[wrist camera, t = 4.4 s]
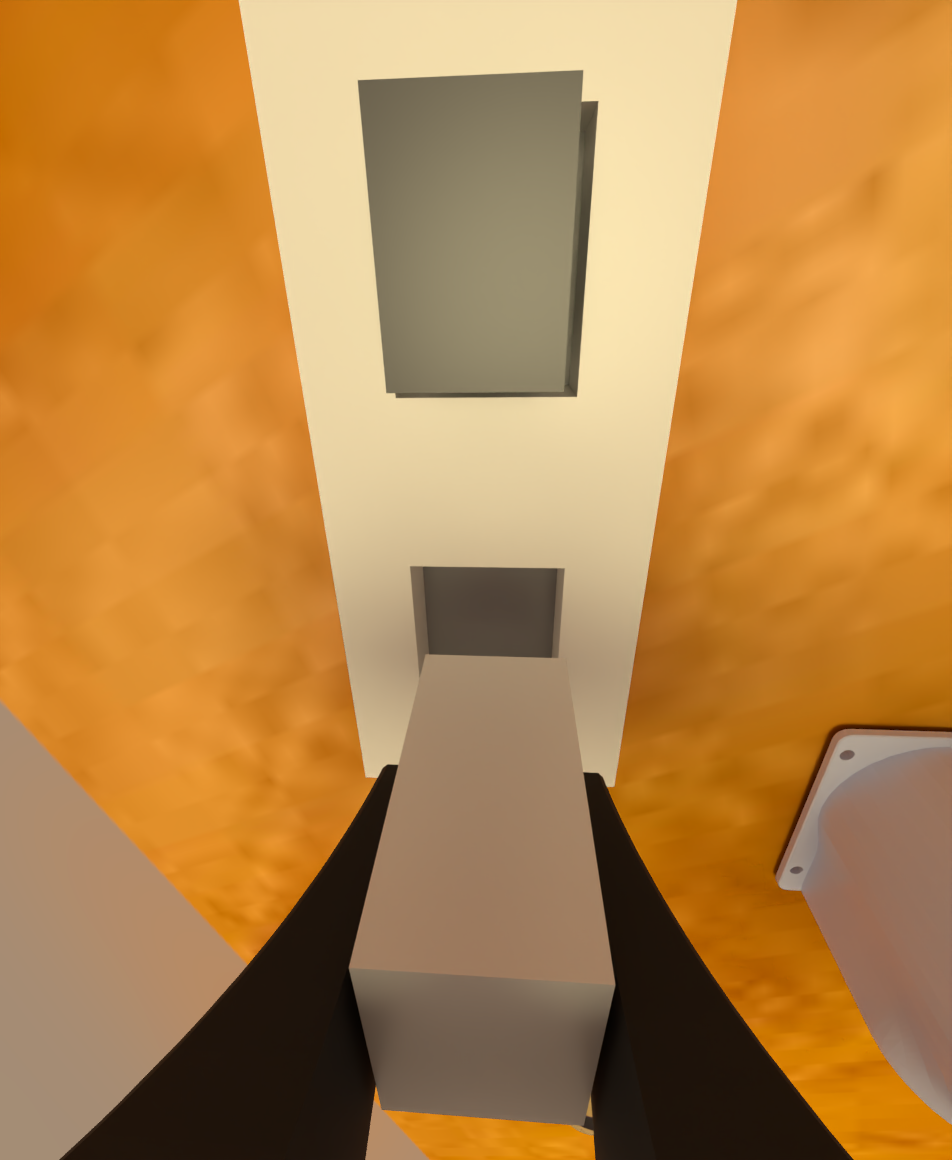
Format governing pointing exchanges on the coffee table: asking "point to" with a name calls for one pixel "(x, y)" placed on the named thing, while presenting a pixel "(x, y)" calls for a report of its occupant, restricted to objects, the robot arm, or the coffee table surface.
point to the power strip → (489, 317)
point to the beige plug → (486, 903)
